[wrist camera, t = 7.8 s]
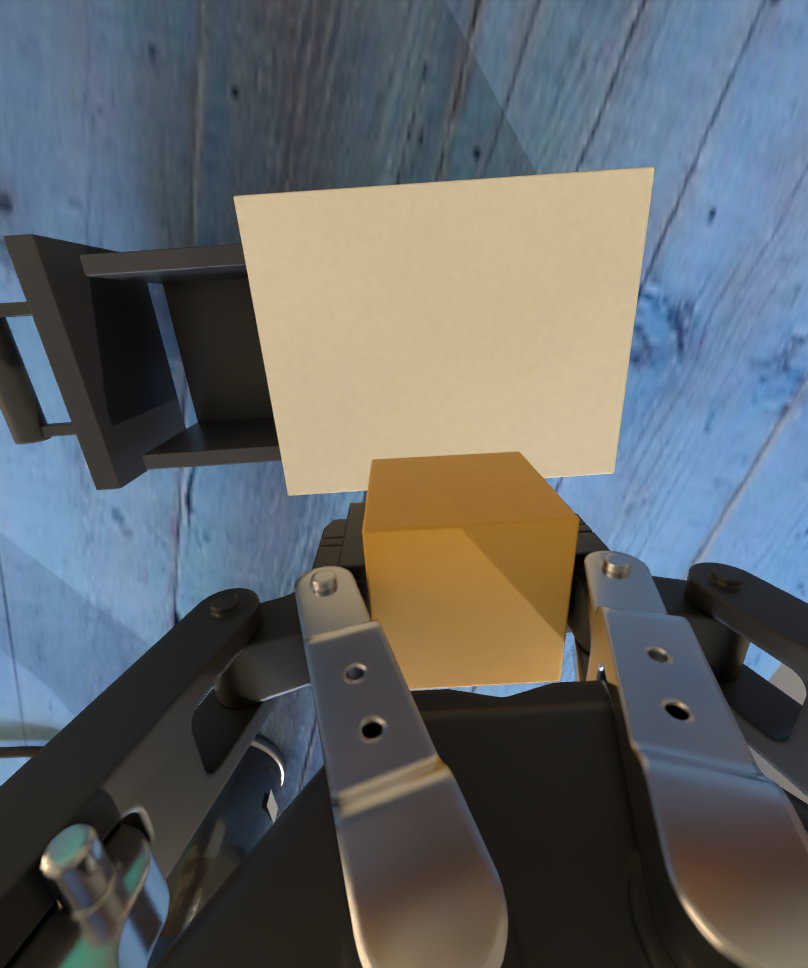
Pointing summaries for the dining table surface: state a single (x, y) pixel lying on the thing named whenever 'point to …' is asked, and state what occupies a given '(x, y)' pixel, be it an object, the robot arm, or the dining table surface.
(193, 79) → the dining table surface
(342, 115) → the dining table surface
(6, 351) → the drawer
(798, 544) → the dining table surface
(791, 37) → the dining table surface
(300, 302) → the cream rectangular box
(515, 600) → the block
